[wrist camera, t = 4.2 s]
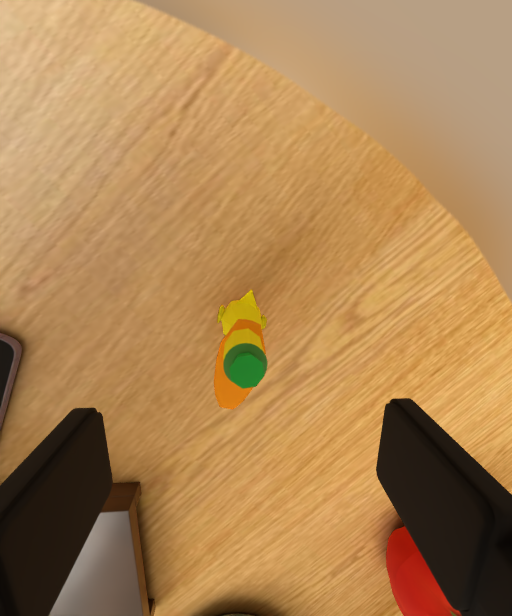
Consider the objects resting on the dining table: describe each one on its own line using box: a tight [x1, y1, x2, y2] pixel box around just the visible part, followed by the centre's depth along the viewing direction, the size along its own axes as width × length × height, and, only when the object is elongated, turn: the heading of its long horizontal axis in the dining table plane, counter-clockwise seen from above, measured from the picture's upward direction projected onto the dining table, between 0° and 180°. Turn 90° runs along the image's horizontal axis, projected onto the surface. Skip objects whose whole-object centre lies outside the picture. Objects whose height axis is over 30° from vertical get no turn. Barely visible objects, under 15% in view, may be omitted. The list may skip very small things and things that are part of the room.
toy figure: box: [214, 289, 267, 409], centre depth 18 cm, size 7×4×12 cm, turn 165°
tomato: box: [386, 526, 462, 616], centre depth 28 cm, size 11×11×9 cm
